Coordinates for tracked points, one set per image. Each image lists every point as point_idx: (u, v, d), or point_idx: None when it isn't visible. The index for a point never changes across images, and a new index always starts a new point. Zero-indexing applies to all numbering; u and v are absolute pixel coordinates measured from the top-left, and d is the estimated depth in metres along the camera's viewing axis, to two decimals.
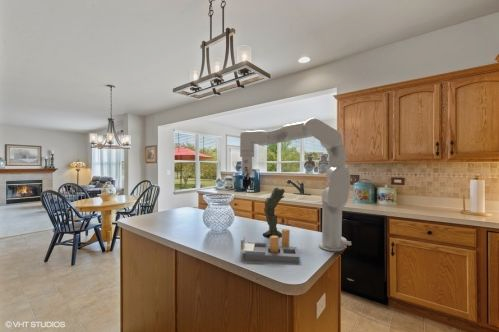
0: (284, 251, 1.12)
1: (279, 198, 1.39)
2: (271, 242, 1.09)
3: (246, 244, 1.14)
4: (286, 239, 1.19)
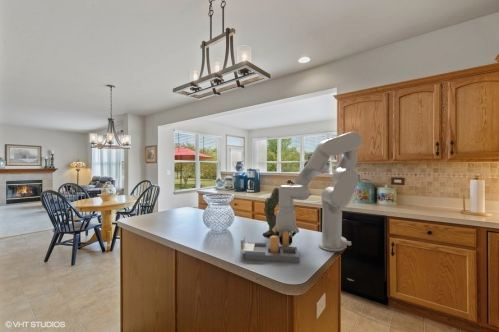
0: (284, 251, 1.12)
1: None
2: (271, 242, 1.09)
3: (246, 244, 1.14)
4: (286, 239, 1.19)
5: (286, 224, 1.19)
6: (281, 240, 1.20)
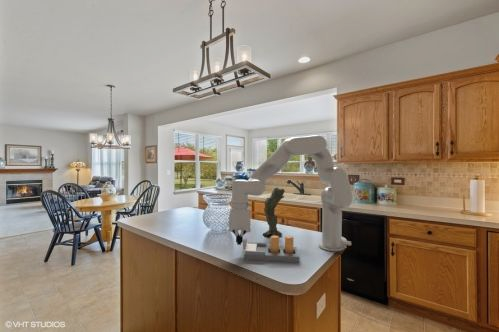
0: (284, 251, 1.12)
1: (279, 198, 1.39)
2: (272, 242, 1.08)
3: (248, 244, 1.14)
4: None
5: (239, 221, 1.09)
6: (238, 240, 1.10)
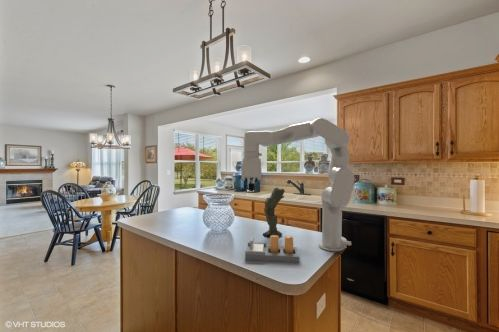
0: (284, 251, 1.12)
1: (279, 198, 1.39)
2: (273, 241, 1.09)
3: (255, 244, 1.14)
4: None
5: (251, 169, 1.18)
6: (250, 186, 1.19)
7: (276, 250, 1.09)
